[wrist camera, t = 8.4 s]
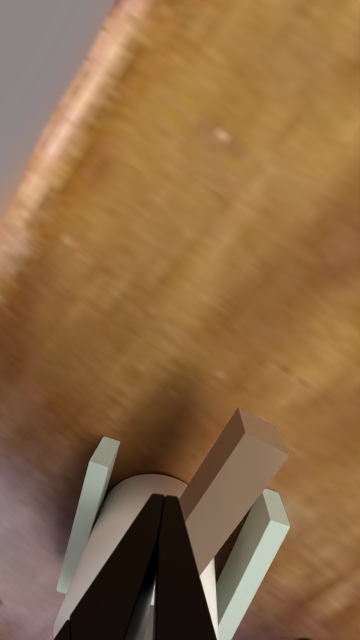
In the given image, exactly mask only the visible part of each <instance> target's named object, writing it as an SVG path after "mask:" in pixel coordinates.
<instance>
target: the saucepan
mask: <svg viewBox="0 0 360 640" xmlns="http://www.w3.org/2000/svg"><path fill="white" fill-rule="evenodd" d="M289 456H290V455H289V453H288V451H287V449H286V447H285V445H284V443H283V440H282V438H281V436H280V434H279V432H278V430H277V428H276V426H274V425H272V424H270V423H268V422H266V421H264V420H262V419H260V418H258V417H256V416H254V415H252V414H250V413H248V412H246V411H244V410H242V409H241V408H239V407H238V409H237V410H236V412H235V413H234V415H233V416H232V418H231V419H230V421H229V422H228V424H227V426H226V427H225V429H224V430H223V432H222V433H221V435H220V436H219V438H218V440H217V441H216V443H215V444H214V446H213V447H212V449H211V450H210V452H209V453H208V455H207V457H206V458H205V460H204V461H203V463H202V464H201V466H200V467H199V469H198V470H197V472H196V474H195V475H194V477H193V478H192V480H191V481H190V483H189V484H188V485H187V484H186V483H184V482H182V481H180V480H178V479H175V478H172V477H169V476H165V475H159V474H143V475H137V476H133V477H130V478H128V479H125V480H123V481H122V482H120V483H118V484H117V485H116V486H115V487H114V488H113V489H112V490H111V491H110V492H109V494H108V495H107V497H106V499H105V501H104V503H103V506H102V508H101V511H100V513H99V516H98V518H97V520H96V523H95V525H94V528H93V530H92V533H91V535H90V537H89V540H88V542H87V545H86V547H85V550H84V552H83V554H82V557H81V559H80V562H79V564H78V567H77V569H76V571H75V574H74V576H73V579H72V581H71V584H70V586H69V588H68V591H67V593H66V596H65V598H64V601H63V603H62V605H61V608H60V610H59V613H58V615H57V618H56V620H55V624H54V628H53V639H54V638H55V636H56V635H57V633H58V632H59V630H60V629H61V628H62V626H63V625H64V623H65V622H66V620H69V617H70V614H71V613H72V611H73V610H74V608H75V607H76V606H77V604H78V603H79V601H80V600H81V598H82V597H83V595H84V594H85V592H86V591H87V589H88V588H89V586H90V585H91V583H92V582H93V580H94V579H95V577H96V576H97V574H98V573H99V571H100V570H101V568H102V567H103V565H104V564H105V562H106V561H107V559H108V558H109V557H110V555H111V554H112V552H113V551H114V549H115V548H116V546H117V545H118V543H119V542H120V540H121V539H122V537H123V536H124V534H125V533H126V531H127V530H128V528H129V527H130V525H131V524H132V522H133V521H134V519H135V518H136V516H137V515H138V513H139V512H140V510H141V509H142V508H143V506H144V505H145V503H146V502H147V500H148V499H149V497H150V496H151V494H153V493H157V494H163V495H164V496H166V495H172V496H177V497H178V498H179V501H180V505H181V509H182V512H183V516H184V520H185V523H186V527H187V531H188V534H189V538H190V542H191V545H192V549H193V553H194V556H195V560H196V564H197V567H198V571H199V575H200V578H201V582H202V586H203V590H204V593H205V597H206V601H207V604H208V608H209V612H210V615H211V619H212V623H213V626H214V630H215V634H216V637H217V640H219V639H218V620H217V600H216V581H215V561H214V556H215V555H216V554H217V552H218V551H219V550H220V548H221V547H222V546H223V544H224V543H225V541H226V540H227V539H228V537H229V536H230V535H231V533H232V532H233V531H234V529H235V528H236V527H237V525H238V524H239V523H240V521H241V520H242V519H243V517H244V516H245V515H246V513H247V512H248V511H249V509H250V508H251V507H252V505H253V504H254V503H255V501H256V500H257V499H258V497H259V496H260V495H261V493H262V492H263V491H264V489H265V488H266V487H267V485H268V484H269V483H270V481H271V480H272V479H273V477H274V476H275V475H276V473H277V472H278V470H279V469H280V468H281V466H282V465H283V464H284V462H285V461H286V460H287V458H288V457H289ZM154 592H155V586H154V591H153V596H152V601H151V606H150V610H149V615H148V620H147V624H146V629H145V633H144V638H143V640H152V633H153V610H154Z"/></svg>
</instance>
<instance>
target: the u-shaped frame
mask: <svg viewBox="0 0 360 640" xmlns="http://www.w3.org/2000/svg"><path fill="white" fill-rule="evenodd" d="M120 442H121V441H118V440H115V439H111V438H108V437H105V436H104V437H103V438H102V440H101V442H100V444H99V445H98V447H97V449H96V450H95V452H94V454H93V456H92V457H91V459H90V461H89V465H88V468H87V472H86V476H85V480H84V484H83V488H82V492H81V496H80V500H79V503H78V507H77V511H76V515H75V519H74V523H73V527H72V531H71V535H70V538H69V542H68V546H67V550H66V554H65V558H64V562H63V566H62V570H61V573H60V577H59V581H58V585H57V589H56V591H59V592H62V593H64V594H66V593H67V591H68V588H69V586H70V584H71V581H72V579H73V576H74V574H75V571H76V569H77V567H78V564H79V562H80V559H81V557H82V554H83V552H84V550H85V547H86V545H87V542H88V540H89V537H90V535H91V533H92V530H93V528H94V525H95V523H96V520H97V518H98V516H99V513H100V511H101V508H102V505H103V501H104V498H105V494H106V491H107V487H108V484H109V480H110V477H111V473H112V470H113V466H114V463H115V459H116V456H117V452H118V449H119V445H120ZM289 528H290V524H289V522H288V519H287V516H286V513H285V510H284V507H283V505H282V502H281V499H280V496H279V493H278V492H275V491H272V490H269V489H266V488H265V489H264V491H263V492H262V493H261V495H260V496H259V497H258V499H257V500H256V501H255V503H254V504H253V506H252V508H251V510H250V512H249V514H248V517H247V519H246V521H245V523H244V525H243V527H242V529H241V532H240V534H239V536H238V538H237V540H236V542H235V545H234V547H233V549H232V551H231V553H230V555H229V557H228V560H227V562H226V564H225V566H224V568H223V570H222V573H221V575H220V577H219V579H218V581H217V583H216V600H217V620H218V639H219V640H231V639H232V637H233V635H234V633H235V631H236V630H237V628H238V626H239V624H240V622H241V620H242V618H243V616H244V614H245V612H246V610H247V608H248V606H249V605H250V603H251V601H252V599H253V597H254V595H255V593H256V591H257V589H258V587H259V585H260V583H261V582H262V580H263V578H264V576H265V574H266V572H267V570H268V568H269V566H270V564H271V562H272V560H273V559H274V557H275V555H276V553H277V551H278V549H279V547H280V545H281V543H282V541H283V539H284V537H285V535H286V534H287V532H288V530H289Z"/></svg>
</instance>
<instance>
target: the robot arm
mask: <svg viewBox="0 0 360 640" xmlns="http://www.w3.org/2000/svg"><path fill="white" fill-rule="evenodd" d="M154 586H155V592H154V610H153V633H152V640H217V637H216V634H215V630H214V626H213V623H212V619H211V615H210V612H209V608H208V604H207V601H206V597H205V593H204V590H203V586H202V582H201V578H200V575H199V571H198V567H197V564H196V560H195V556H194V553H193V549H192V545H191V542H190V538H189V534H188V531H187V527H186V523H185V520H184V516H183V512H182V509H181V505H180V501H179V498H178V497H177V496H172V495H166V496H164V495H163V494H157V493H153V494H151V496H150V497H149V499H148V500H147V502H146V503H145V505H144V506H143V508H142V509H141V510H140V512H139V513H138V515H137V516H136V518H135V519H134V521H133V522H132V524H131V525H130V527H129V528H128V530H127V531H126V533H125V534H124V536H123V537H122V539H121V540H120V542H119V543H118V545H117V546H116V548H115V549H114V551H113V552H112V554H111V555H110V557H109V558H108V559H107V561H106V562H105V564H104V565H103V567H102V568H101V570H100V571H99V573H98V574H97V576H96V577H95V579H94V580H93V582H92V583H91V585H90V586H89V588H88V589H87V591H86V592H85V594H84V595H83V597H82V598H81V600H80V601H79V603H78V604H77V606H76V607H75V608H74V610H73V611H72V613H71V614H70V617H69V620H66V622H65V623H64V625H63V626H62V628H61V629H60V630H59V632H58V633H57V635H56V636H55V638H54V639H53V640H143V638H144V633H145V629H146V624H147V620H148V615H149V610H150V606H151V601H152V596H153V591H154Z"/></svg>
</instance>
